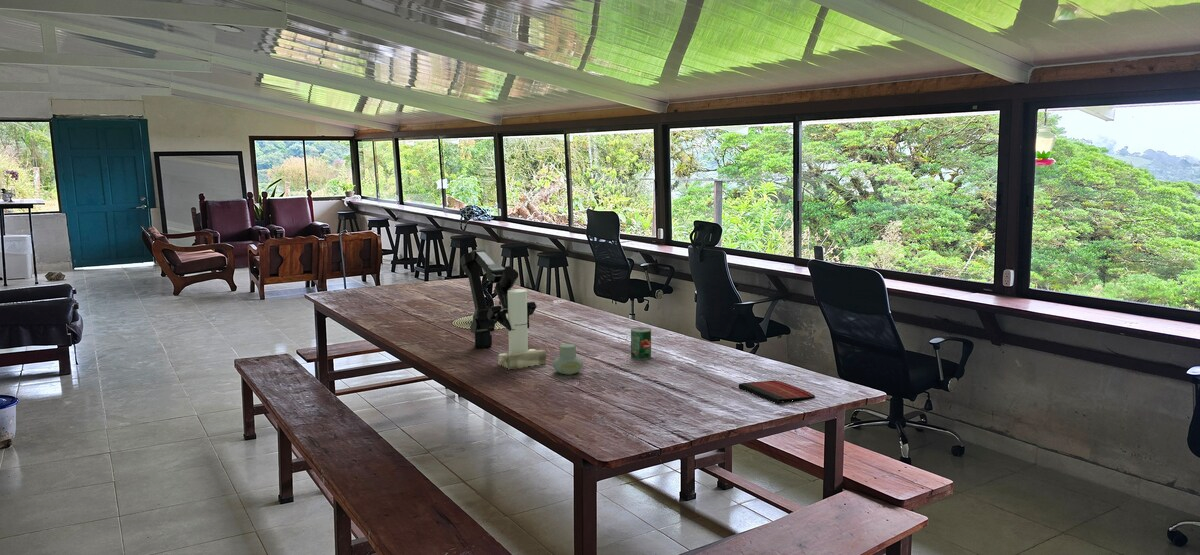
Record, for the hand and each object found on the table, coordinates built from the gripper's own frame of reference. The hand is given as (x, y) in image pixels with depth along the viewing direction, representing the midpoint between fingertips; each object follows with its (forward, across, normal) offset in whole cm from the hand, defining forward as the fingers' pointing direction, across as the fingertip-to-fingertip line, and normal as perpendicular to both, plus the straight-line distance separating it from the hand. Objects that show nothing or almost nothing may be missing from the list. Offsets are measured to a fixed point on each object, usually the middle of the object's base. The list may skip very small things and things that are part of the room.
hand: (519, 329), depth 307 cm
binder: (+68, +52, -49) cm, 98 cm away
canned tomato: (+22, +43, -4) cm, 48 cm away
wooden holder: (+11, 0, +8) cm, 13 cm away
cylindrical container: (+7, 0, +9) cm, 11 cm away
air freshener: (+25, +8, -6) cm, 27 cm away
